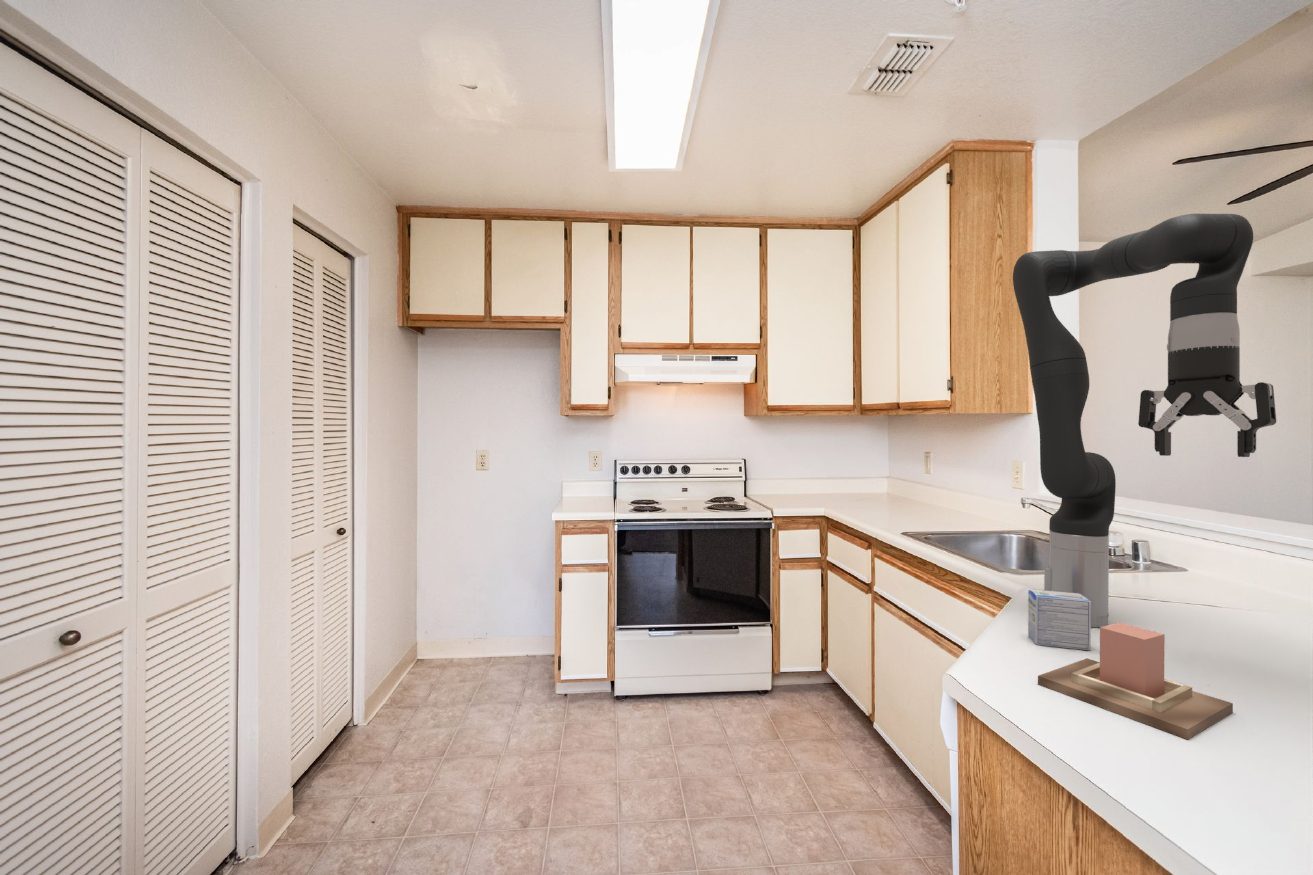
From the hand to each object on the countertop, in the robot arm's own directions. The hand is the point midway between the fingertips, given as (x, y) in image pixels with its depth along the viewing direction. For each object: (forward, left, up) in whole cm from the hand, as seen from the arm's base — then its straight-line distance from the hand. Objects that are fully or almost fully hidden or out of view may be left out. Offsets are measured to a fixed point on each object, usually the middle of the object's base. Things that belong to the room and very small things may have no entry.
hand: (1202, 456), depth 79 cm
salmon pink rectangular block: (-2, -18, -32) cm, 36 cm away
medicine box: (-17, -4, -33) cm, 38 cm away
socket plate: (-2, -18, -33) cm, 37 cm away
